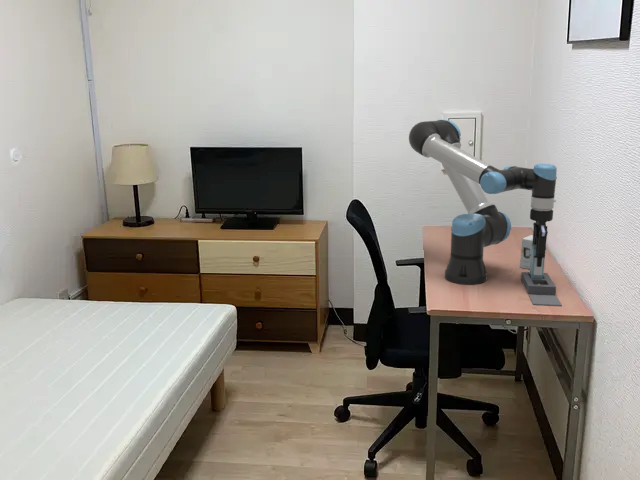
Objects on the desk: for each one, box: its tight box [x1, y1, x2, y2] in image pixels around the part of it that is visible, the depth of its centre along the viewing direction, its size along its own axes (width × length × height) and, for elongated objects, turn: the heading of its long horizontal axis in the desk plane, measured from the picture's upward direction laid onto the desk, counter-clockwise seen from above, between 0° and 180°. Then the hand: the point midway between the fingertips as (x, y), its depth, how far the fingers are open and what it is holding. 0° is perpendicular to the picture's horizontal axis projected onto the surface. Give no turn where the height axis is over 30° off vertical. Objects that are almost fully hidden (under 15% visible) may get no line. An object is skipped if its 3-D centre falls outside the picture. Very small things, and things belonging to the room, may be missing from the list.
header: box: [520, 271, 557, 296], centre depth 225 cm, size 16×9×3 cm, turn 171°
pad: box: [528, 294, 563, 307], centre depth 211 cm, size 9×9×1 cm
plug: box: [529, 244, 546, 279], centre depth 227 cm, size 4×4×14 cm
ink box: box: [519, 234, 533, 270], centre depth 248 cm, size 9×5×12 cm, turn 137°
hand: (536, 272), depth 227 cm, fingers closed on plug, 4 cm apart
